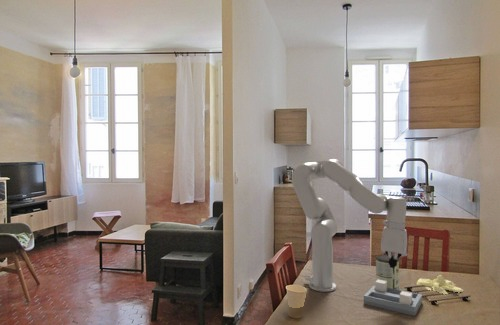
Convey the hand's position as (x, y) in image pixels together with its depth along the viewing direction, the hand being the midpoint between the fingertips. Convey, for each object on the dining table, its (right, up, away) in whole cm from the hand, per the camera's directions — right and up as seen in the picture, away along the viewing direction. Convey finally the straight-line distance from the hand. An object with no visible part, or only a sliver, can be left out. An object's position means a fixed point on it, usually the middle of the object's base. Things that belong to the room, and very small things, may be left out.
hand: (392, 267), depth 156 cm
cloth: (+28, -14, +14) cm, 34 cm away
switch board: (-1, -14, -4) cm, 15 cm away
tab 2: (+1, -13, -11) cm, 17 cm away
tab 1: (-4, -12, +3) cm, 13 cm away
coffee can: (+3, -14, +15) cm, 21 cm away
